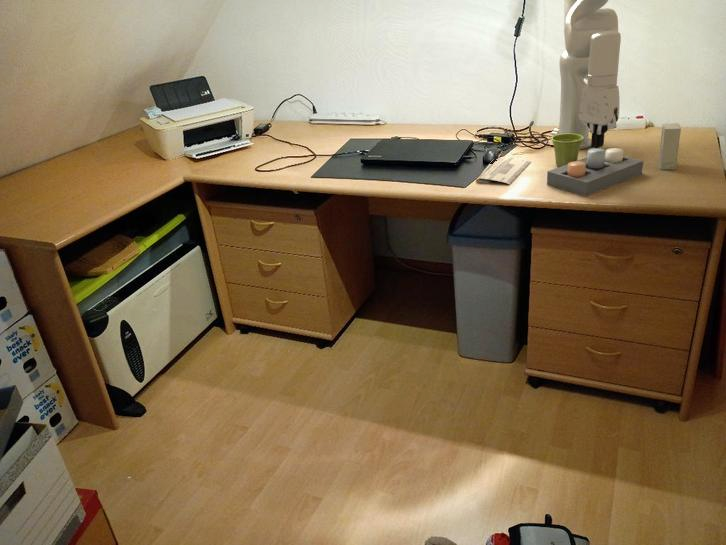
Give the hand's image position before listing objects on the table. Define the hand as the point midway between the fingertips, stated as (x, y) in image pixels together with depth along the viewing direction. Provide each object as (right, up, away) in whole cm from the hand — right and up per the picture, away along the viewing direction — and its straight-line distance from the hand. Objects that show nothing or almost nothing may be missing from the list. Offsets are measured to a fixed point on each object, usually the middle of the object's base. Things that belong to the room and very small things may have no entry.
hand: (597, 146), depth 173 cm
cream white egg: (+8, -4, +7) cm, 11 cm away
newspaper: (-23, -5, +19) cm, 30 cm away
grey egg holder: (+1, -9, +5) cm, 10 cm away
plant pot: (-3, -2, +19) cm, 19 cm away
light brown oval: (-6, -9, 0) cm, 11 cm away
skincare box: (+24, -4, +8) cm, 26 cm away
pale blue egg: (+1, -5, +3) cm, 6 cm away
